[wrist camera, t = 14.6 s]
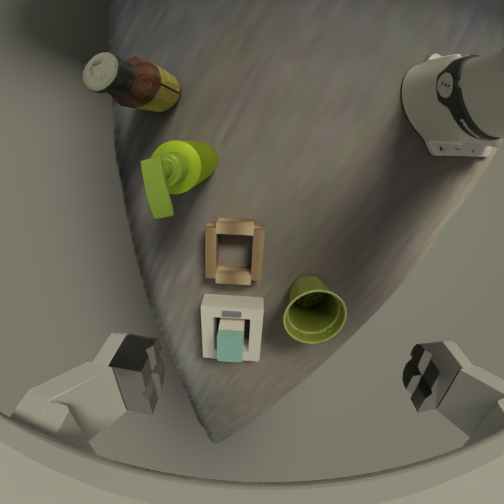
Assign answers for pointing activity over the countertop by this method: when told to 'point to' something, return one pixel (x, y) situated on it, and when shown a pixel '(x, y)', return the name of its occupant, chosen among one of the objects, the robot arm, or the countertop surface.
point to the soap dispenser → (175, 172)
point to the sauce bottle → (132, 82)
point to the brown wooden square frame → (233, 273)
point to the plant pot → (313, 311)
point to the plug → (230, 340)
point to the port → (238, 310)
